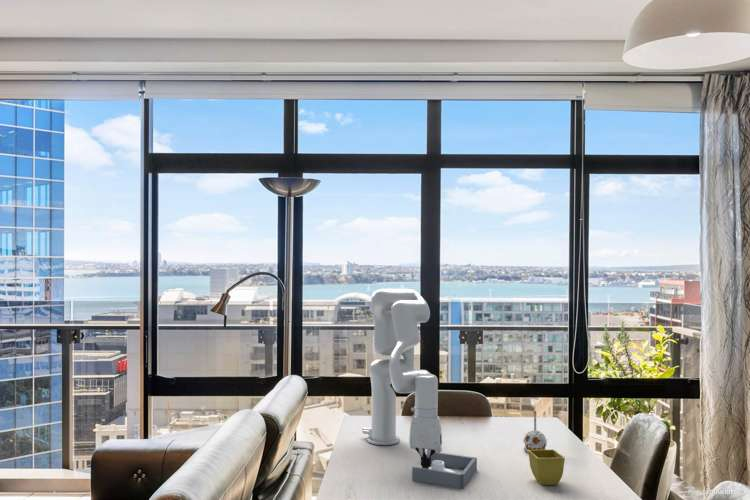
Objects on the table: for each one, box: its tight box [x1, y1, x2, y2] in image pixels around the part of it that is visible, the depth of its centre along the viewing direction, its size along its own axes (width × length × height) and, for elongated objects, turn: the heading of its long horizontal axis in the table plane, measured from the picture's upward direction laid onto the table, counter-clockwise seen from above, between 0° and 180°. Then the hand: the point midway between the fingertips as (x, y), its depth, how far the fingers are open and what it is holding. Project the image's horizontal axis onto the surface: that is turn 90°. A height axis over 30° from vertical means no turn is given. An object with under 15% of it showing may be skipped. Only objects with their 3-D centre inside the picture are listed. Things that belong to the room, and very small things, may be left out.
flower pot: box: [527, 448, 566, 486], centre depth 175 cm, size 9×9×9 cm
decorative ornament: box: [523, 410, 547, 453], centre depth 205 cm, size 8×8×15 cm
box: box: [411, 452, 478, 490], centre depth 180 cm, size 16×18×4 cm
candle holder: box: [429, 460, 456, 473], centre depth 181 cm, size 12×12×4 cm
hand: (425, 468), depth 183 cm, fingers closed
